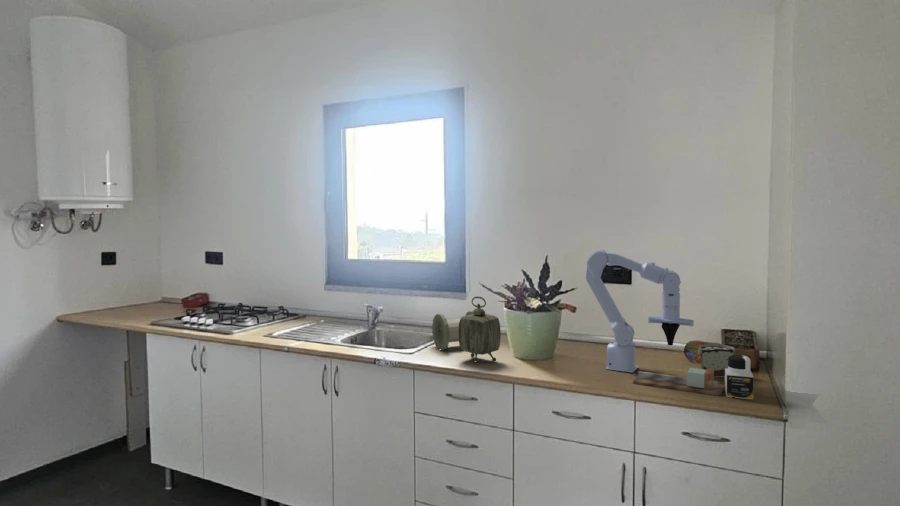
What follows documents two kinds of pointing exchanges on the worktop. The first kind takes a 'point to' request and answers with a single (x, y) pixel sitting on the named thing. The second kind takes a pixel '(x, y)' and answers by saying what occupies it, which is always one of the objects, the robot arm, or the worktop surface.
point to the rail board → (680, 382)
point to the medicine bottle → (739, 377)
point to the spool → (445, 330)
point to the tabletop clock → (479, 332)
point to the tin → (695, 350)
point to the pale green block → (695, 377)
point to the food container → (715, 357)
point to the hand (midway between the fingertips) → (670, 344)
